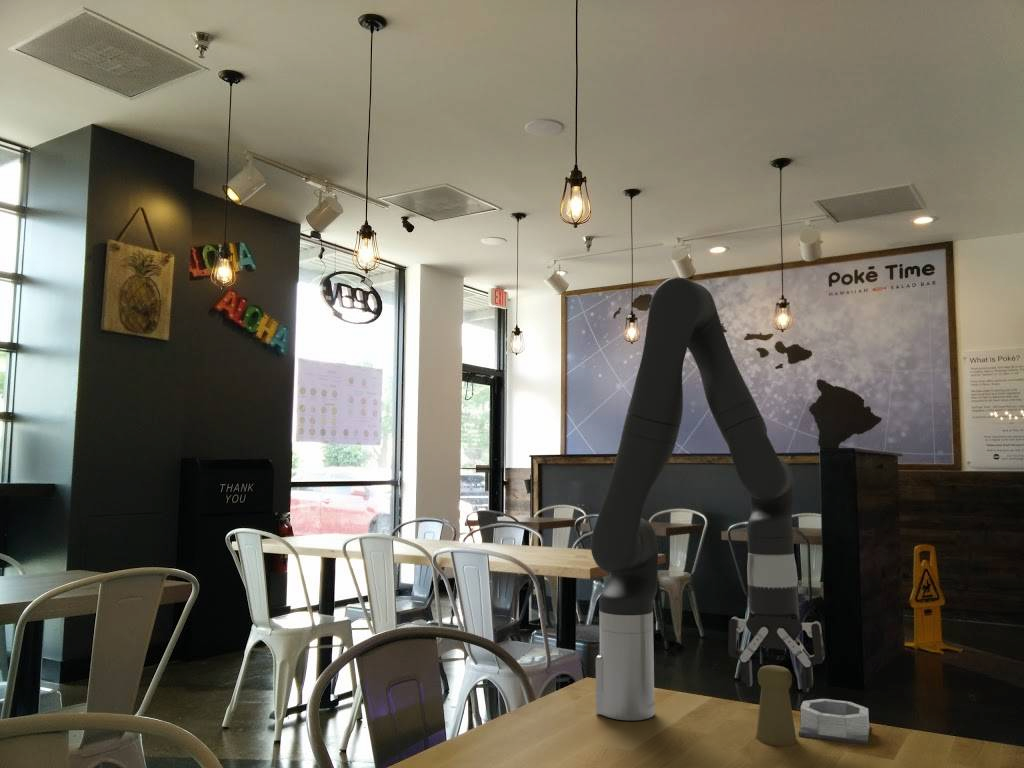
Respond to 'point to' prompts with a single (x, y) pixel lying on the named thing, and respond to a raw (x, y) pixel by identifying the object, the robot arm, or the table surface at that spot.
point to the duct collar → (835, 721)
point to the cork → (775, 707)
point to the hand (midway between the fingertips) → (777, 688)
